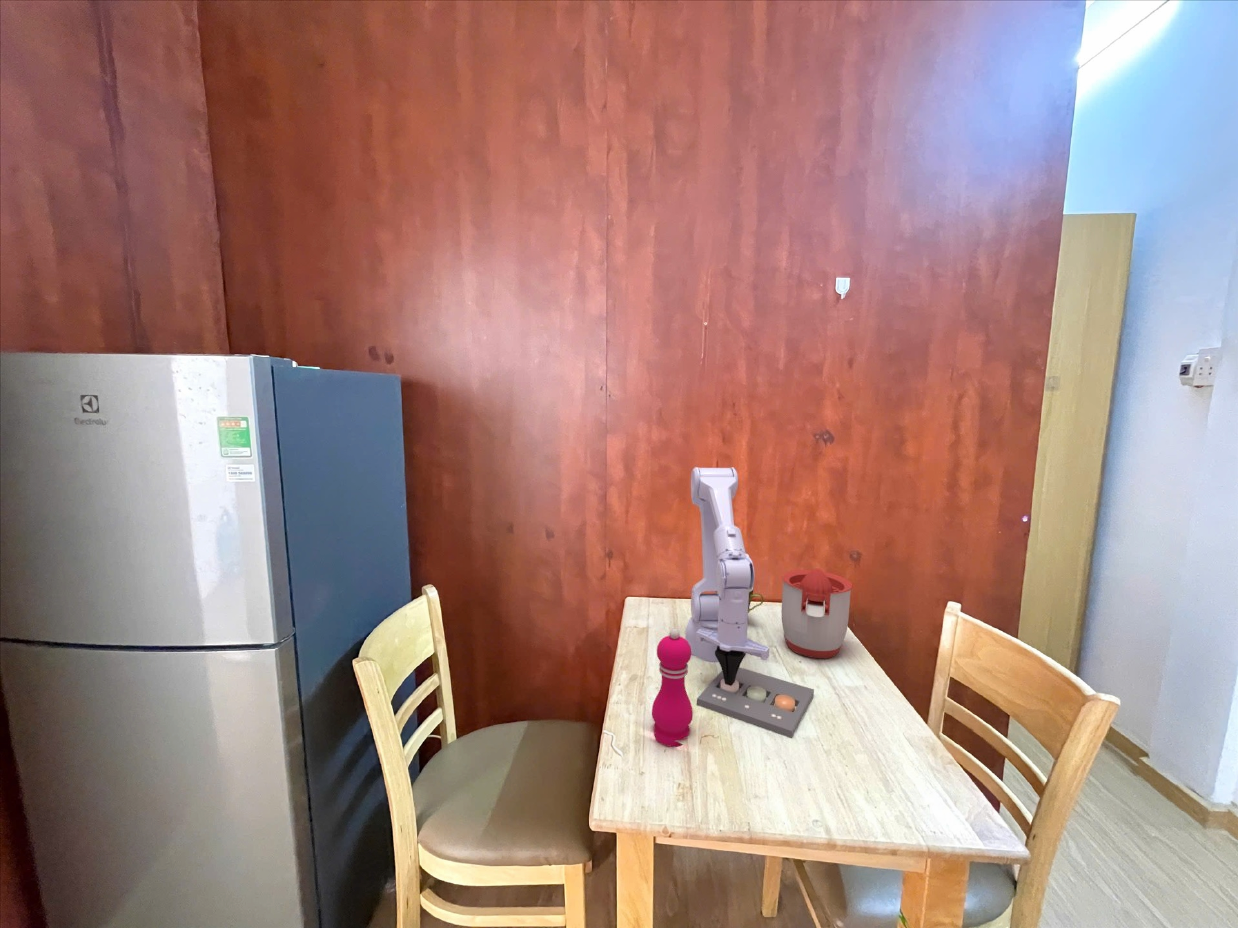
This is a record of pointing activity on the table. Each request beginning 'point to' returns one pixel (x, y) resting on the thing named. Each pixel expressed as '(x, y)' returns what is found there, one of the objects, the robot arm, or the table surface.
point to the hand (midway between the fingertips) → (729, 682)
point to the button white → (733, 688)
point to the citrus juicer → (815, 612)
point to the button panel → (756, 710)
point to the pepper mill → (672, 691)
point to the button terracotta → (785, 702)
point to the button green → (756, 693)
